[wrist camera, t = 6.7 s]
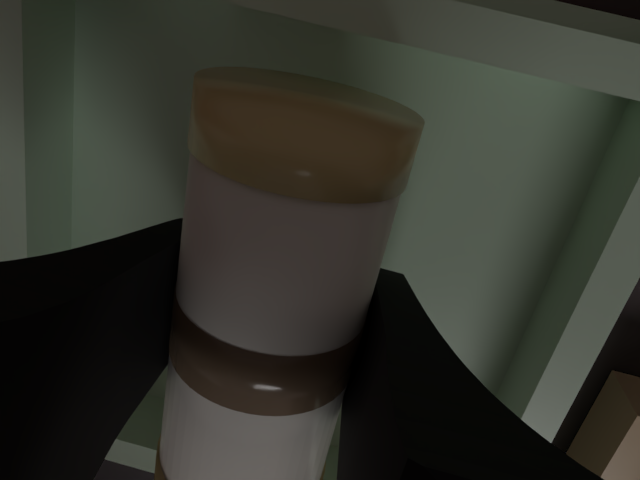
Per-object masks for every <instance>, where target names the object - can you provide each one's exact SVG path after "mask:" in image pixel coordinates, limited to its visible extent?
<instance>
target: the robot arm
mask: <svg viewBox="0 0 640 480" xmlns="http://www.w3.org/2000/svg"><path fill="white" fill-rule="evenodd" d="M182 223H183V218H179V219H174V220H171V221H167V222H164V223H160V224H157V225H154V226H151V227H148V228H144V229H141V230H138V231H135V232H132V233H128V234H125V235H122V236H119V237H115V238H112V239H108V240H104V241H100V242H97V243H93V244H89V245H85V246H81V247H78V248H74V249H70V250H66V251H61V252H56V253H51V254H46V255H41V256H35V257H29V258H23V259H17V260H10V261H2V262H0V480H93V479H94V477H95V475H96V473H97V471H98V470H99V468H100V466H101V464H102V462H103V461H104V459H105V457H106V455H107V454H108V452H109V450H110V448H111V446H112V445H113V443H114V441H115V439H116V438H117V436H118V435H119V433H120V432H121V430H122V429H123V427H124V426H125V424H126V422H127V421H128V420H129V418H130V417H131V415H132V414H133V413H134V411H135V410H136V408H137V407H138V406H139V404H140V403H141V401H142V400H143V399H144V397H145V396H146V394H147V393H148V392H149V390H150V389H151V387H152V386H153V385H154V383H155V382H156V380H157V379H158V378H159V376H160V375H161V373H162V372H163V371H164V369H165V368H166V366H167V365H168V360H169V339H170V329H171V319H172V310H173V300H174V290H175V284H176V281H177V272H178V262H179V253H180V243H181V233H182ZM337 480H604V479H603V478H601V477H599V476H598V475H596V474H595V473H593V472H591V471H590V470H588V469H587V468H585V467H584V466H582V465H581V464H579V463H578V462H576V461H575V460H574V459H572V458H571V457H569V456H568V455H567V454H565V453H564V452H563V451H561V450H560V449H558V448H557V447H556V446H554V445H553V444H552V443H550V442H549V441H547V440H546V439H545V438H544V437H542V436H541V435H540V434H538V433H537V432H536V431H535V430H533V429H532V428H531V427H530V426H528V425H527V424H526V423H525V422H524V421H522V420H521V419H520V418H519V417H518V416H517V415H516V414H514V413H513V412H512V411H511V410H510V409H509V408H508V407H506V406H505V405H504V404H503V403H502V402H501V401H500V400H499V399H497V398H496V397H495V396H494V395H493V394H492V393H491V392H490V391H489V390H488V389H487V388H486V387H485V386H484V385H483V384H482V383H481V382H480V381H479V380H478V378H477V377H476V376H475V375H474V374H473V373H472V372H471V371H470V370H469V369H468V368H467V367H466V366H465V364H464V363H463V362H462V361H461V360H460V359H459V357H458V356H457V355H456V354H455V352H454V351H453V350H452V349H451V347H450V346H449V345H448V343H447V342H446V341H445V339H444V338H443V337H442V335H441V334H440V333H439V331H438V330H437V328H436V327H435V326H434V324H433V323H432V321H431V320H430V318H429V317H428V315H427V313H426V312H425V310H424V309H423V307H422V305H421V304H420V302H419V300H418V299H417V297H416V295H415V293H414V292H413V290H412V288H411V286H410V285H409V283H408V281H407V279H406V278H405V276H404V274H402V273H398V272H394V271H390V270H386V269H382V268H380V270H379V274H378V277H377V281H376V284H375V288H374V292H373V295H372V299H371V302H370V306H369V309H368V313H367V319H366V324H365V327H364V331H363V334H362V338H361V341H360V345H359V348H358V352H357V355H356V359H355V362H354V366H353V369H352V373H351V376H350V380H349V382H348V384H347V387H346V390H345V394H344V397H343V401H342V410H341V424H340V438H339V453H338V467H337Z"/></svg>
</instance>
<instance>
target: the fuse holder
mask: <svg viewBox="0 0 640 480" xmlns="http://www.w3.org/2000/svg"><path fill="white" fill-rule="evenodd" d="M566 454H567V455H568V456H569V457H571V458H572V459H574V460H575V461H576V462H578V463H579V464H581V465H582V466H584V467H585V468H587V469H588V470H590V471H591V472H593V473H595V474H596V475H598V476H599V477H601V478H603V479H604V480H640V377H636V376H633V375H629V374H625V373H621V372H617V371H614V370H612V371H611V373H610V375H609V377H608V379H607V380H606V382H605V384H604V386H603V388H602V389H601V391H600V393H599V395H598V397H597V398H596V400H595V402H594V404H593V406H592V407H591V409H590V411H589V413H588V415H587V416H586V418H585V420H584V422H583V424H582V425H581V427H580V429H579V431H578V433H577V434H576V436H575V438H574V440H573V442H572V443H571V445H570V447H569V449H568V451H567V452H566Z"/></svg>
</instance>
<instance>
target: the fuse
mask: <svg viewBox="0 0 640 480" xmlns="http://www.w3.org/2000/svg"><path fill="white" fill-rule="evenodd" d="M424 124H425V121H424V119H423V118H422V117H421V116H420V115H419V114H418V113H417V112H415V111H413V110H412V109H410V108H408V107H406V106H404V105H402V104H400V103H398V102H396V101H393V100H391V99H388V98H386V97H383V96H380V95H377V94H375V93H372V92H369V91H365V90H362V89H359V88H355V87H352V86H348V85H345V84H341V83H337V82H333V81H329V80H324V79H320V78H315V77H310V76H306V75H300V74H295V73H289V72H283V71H276V70H268V69H260V68H249V67H211V68H205V69H202V70H199V71H197V72H196V73H195V74H194V80H193V90H192V100H191V110H190V120H189V130H188V141H187V145H188V149H189V151H190V155H189V165H188V174H187V184H186V194H185V204H184V214H183V223H182V233H181V243H180V253H179V262H178V272H177V281H176V284H175V290H174V300H173V310H172V319H171V329H170V339H169V360H168V370H167V380H166V390H165V400H164V409H163V419H162V429H161V434H160V437H159V440H158V445H157V453H156V463H155V473H154V480H323V476H324V473H325V466H326V457H327V453H328V450H329V446H330V443H331V439H332V436H333V432H334V429H335V425H336V422H337V418H338V415H339V411H340V408H341V404H342V401H343V397H344V394H345V390H346V387H347V384H348V382H349V380H350V376H351V373H352V369H353V366H354V362H355V359H356V355H357V352H358V348H359V345H360V341H361V338H362V334H363V331H364V327H365V324H366V319H367V313H368V309H369V306H370V302H371V299H372V295H373V292H374V288H375V284H376V281H377V277H378V274H379V270H380V267H381V263H382V260H383V256H384V253H385V249H386V246H387V242H388V239H389V235H390V232H391V228H392V225H393V221H394V218H395V214H396V211H397V207H398V203H399V200H400V196H401V194H402V193H403V192H404V191H405V190H406V187H407V184H408V180H409V177H410V173H411V170H412V166H413V163H414V159H415V156H416V152H417V149H418V145H419V142H420V138H421V135H422V131H423V128H424Z"/></svg>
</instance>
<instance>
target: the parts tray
mask: <svg viewBox="0 0 640 480" xmlns="http://www.w3.org/2000/svg"><path fill="white" fill-rule="evenodd" d="M211 67H249V68H260V69H268V70H276V71H283V72H289V73H295V74H300V75H306V76H310V77H315V78H320V79H324V80H329V81H333V82H337V83H341V84H345V85H348V86H352V87H355V88H359V89H362V90H365V91H369V92H372V93H375V94H377V95H380V96H383V97H386V98H388V99H391V100H393V101H396V102H398V103H400V104H402V105H404V106H406V107H408V108H410V109H412V110H413V111H415V112H417V113H418V114H419V115H420V116H421V117H422V118H423V119H424V121H425V124H424V128H423V131H422V135H421V138H420V142H419V145H418V149H417V152H416V156H415V159H414V163H413V166H412V170H411V173H410V177H409V180H408V184H407V187H406V190H405V191H404V192H403V193H402V194H401V196H400V200H399V203H398V207H397V211H396V214H395V218H394V221H393V225H392V228H391V232H390V235H389V239H388V242H387V246H386V249H385V253H384V256H383V260H382V263H381V267H380V268H382V269H386V270H390V271H394V272H398V273H402V274H404V276H405V278H406V279H407V281H408V283H409V285H410V286H411V288H412V290H413V292H414V293H415V295H416V297H417V299H418V300H419V302H420V304H421V305H422V307H423V309H424V310H425V312H426V313H427V315H428V317H429V318H430V320H431V321H432V323H433V324H434V326H435V327H436V328H437V330H438V331H439V333H440V334H441V335H442V337H443V338H444V339H445V341H446V342H447V343H448V345H449V346H450V347H451V349H452V350H453V351H454V352H455V354H456V355H457V356H458V357H459V359H460V360H461V361H462V362H463V363H464V364H465V366H466V367H467V368H468V369H469V370H470V371H471V372H472V373H473V374H474V375H475V376H476V377H477V378H478V380H479V381H480V382H481V383H482V384H483V385H484V386H485V387H486V388H487V389H488V390H489V391H490V392H491V393H492V394H493V395H494V396H495V397H496V398H497V399H499V400H500V401H501V402H502V403H503V404H504V405H505V406H506V407H508V408H509V409H510V410H511V411H512V412H513V413H514V414H516V415H517V416H518V417H519V418H520V419H521V420H522V421H524V422H525V423H526V424H527V425H528V426H530V427H531V428H532V429H533V430H535V431H536V432H537V433H538V434H540V435H541V436H542V437H544V438H545V439H546V440H547V441H549V442H550V443H552V441H553V439H554V437H555V435H556V433H557V431H558V430H559V428H560V426H561V424H562V422H563V420H564V418H565V416H566V415H567V413H568V411H569V409H570V407H571V405H572V403H573V401H574V400H575V398H576V396H577V394H578V392H579V390H580V388H581V386H582V385H583V383H584V381H585V379H586V377H587V375H588V373H589V371H590V370H591V368H592V366H593V364H594V362H595V360H596V358H597V356H598V355H599V353H600V351H601V349H602V347H603V345H604V343H605V341H606V340H607V338H608V336H609V334H610V332H611V330H612V328H613V326H614V325H615V323H616V321H617V319H618V317H619V315H620V313H621V311H622V310H623V308H624V306H625V304H626V302H627V300H628V298H629V296H630V295H631V293H632V291H633V289H634V287H635V285H636V283H637V281H638V280H639V278H640V20H637V19H633V18H628V17H624V16H620V15H615V14H611V13H607V12H603V11H598V10H594V9H590V8H585V7H581V6H577V5H572V4H568V3H564V2H559V1H555V0H0V262H2V261H10V260H17V259H23V258H29V257H35V256H41V255H46V254H51V253H56V252H61V251H66V250H70V249H74V248H78V247H81V246H85V245H89V244H93V243H97V242H100V241H104V240H108V239H112V238H115V237H119V236H122V235H125V234H128V233H132V232H135V231H138V230H141V229H144V228H148V227H151V226H154V225H157V224H160V223H164V222H167V221H171V220H174V219H179V218H183V214H184V204H185V194H186V184H187V174H188V165H189V155H190V151H189V149H188V145H187V141H188V130H189V120H190V110H191V100H192V90H193V80H194V74H195V73H196V72H197V71H199V70H202V69H205V68H211ZM167 370H168V365H167V366H166V368H165V369H164V371H163V372H162V373H161V375H160V376H159V378H158V379H157V380H156V382H155V383H154V385H153V386H152V387H151V389H150V390H149V392H148V393H147V394H146V396H145V397H144V399H143V400H142V401H141V403H140V404H139V406H138V407H137V408H136V410H135V411H134V413H133V414H132V415H131V417H130V418H129V420H128V421H127V422H126V424H125V426H124V427H123V429H122V430H121V432H120V433H119V435H118V436H117V438H116V439H115V441H114V443H113V445H112V446H111V448H110V450H109V452H108V454H107V455H106V457H105V460H109V461H112V462H116V463H119V464H123V465H126V466H130V467H134V468H137V469H141V470H144V471H148V472H151V473H155V463H156V453H157V445H158V440H159V437H160V434H161V429H162V419H163V409H164V400H165V390H166V380H167ZM341 410H342V404H341V408H340V411H339V415H338V418H337V422H336V425H335V429H334V432H333V436H332V439H331V443H330V446H329V450H328V453H327V457H326V466H325V473H324V476H323V480H337V467H338V453H339V438H340V424H341Z"/></svg>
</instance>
